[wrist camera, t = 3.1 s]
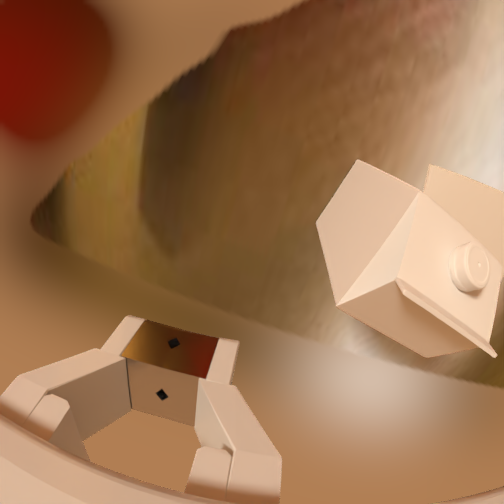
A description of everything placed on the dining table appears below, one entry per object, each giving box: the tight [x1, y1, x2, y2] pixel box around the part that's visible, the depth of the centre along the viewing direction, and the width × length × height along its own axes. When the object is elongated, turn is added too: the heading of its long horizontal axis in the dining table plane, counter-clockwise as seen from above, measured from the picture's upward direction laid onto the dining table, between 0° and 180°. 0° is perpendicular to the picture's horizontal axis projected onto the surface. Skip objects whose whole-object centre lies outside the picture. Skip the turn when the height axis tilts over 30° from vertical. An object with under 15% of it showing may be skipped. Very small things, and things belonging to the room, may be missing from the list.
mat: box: [423, 164, 504, 283], centre depth 28 cm, size 14×13×1 cm
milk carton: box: [316, 159, 502, 358], centre depth 20 cm, size 7×7×19 cm
